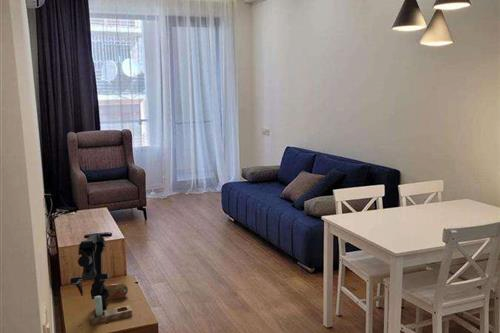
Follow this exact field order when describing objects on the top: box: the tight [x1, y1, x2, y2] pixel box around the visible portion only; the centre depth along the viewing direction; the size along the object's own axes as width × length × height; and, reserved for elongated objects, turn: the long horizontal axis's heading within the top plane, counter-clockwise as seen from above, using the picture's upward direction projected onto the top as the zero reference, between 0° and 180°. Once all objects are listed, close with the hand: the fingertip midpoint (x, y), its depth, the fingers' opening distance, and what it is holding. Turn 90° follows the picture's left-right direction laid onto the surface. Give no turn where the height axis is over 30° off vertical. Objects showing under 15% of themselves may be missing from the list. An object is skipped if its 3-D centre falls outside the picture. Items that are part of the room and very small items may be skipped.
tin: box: [106, 282, 129, 300], centre depth 275 cm, size 15×3×8 cm, turn 94°
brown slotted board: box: [90, 304, 133, 325], centre depth 250 cm, size 21×7×3 cm, turn 111°
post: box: [93, 296, 104, 317], centre depth 247 cm, size 4×4×13 cm
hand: (91, 294), depth 240 cm, fingers open, 9 cm apart
